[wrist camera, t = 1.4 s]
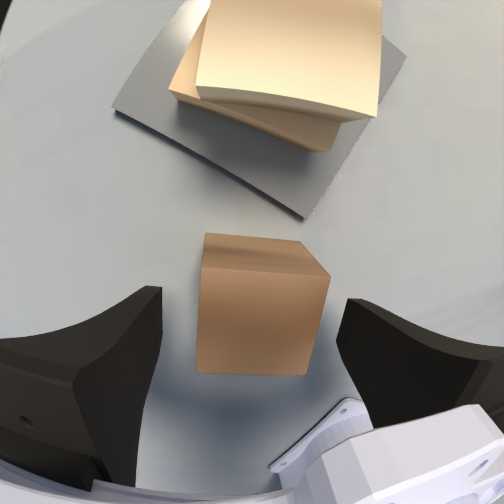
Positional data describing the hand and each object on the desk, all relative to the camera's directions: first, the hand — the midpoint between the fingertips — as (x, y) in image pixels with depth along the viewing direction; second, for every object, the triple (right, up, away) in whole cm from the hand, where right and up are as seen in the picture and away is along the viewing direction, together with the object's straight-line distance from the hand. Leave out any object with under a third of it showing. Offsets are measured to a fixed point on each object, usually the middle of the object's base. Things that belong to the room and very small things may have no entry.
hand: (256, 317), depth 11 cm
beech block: (+1, +10, -3) cm, 10 cm away
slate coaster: (+1, +11, 0) cm, 11 cm away
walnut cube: (0, +1, +4) cm, 4 cm away
